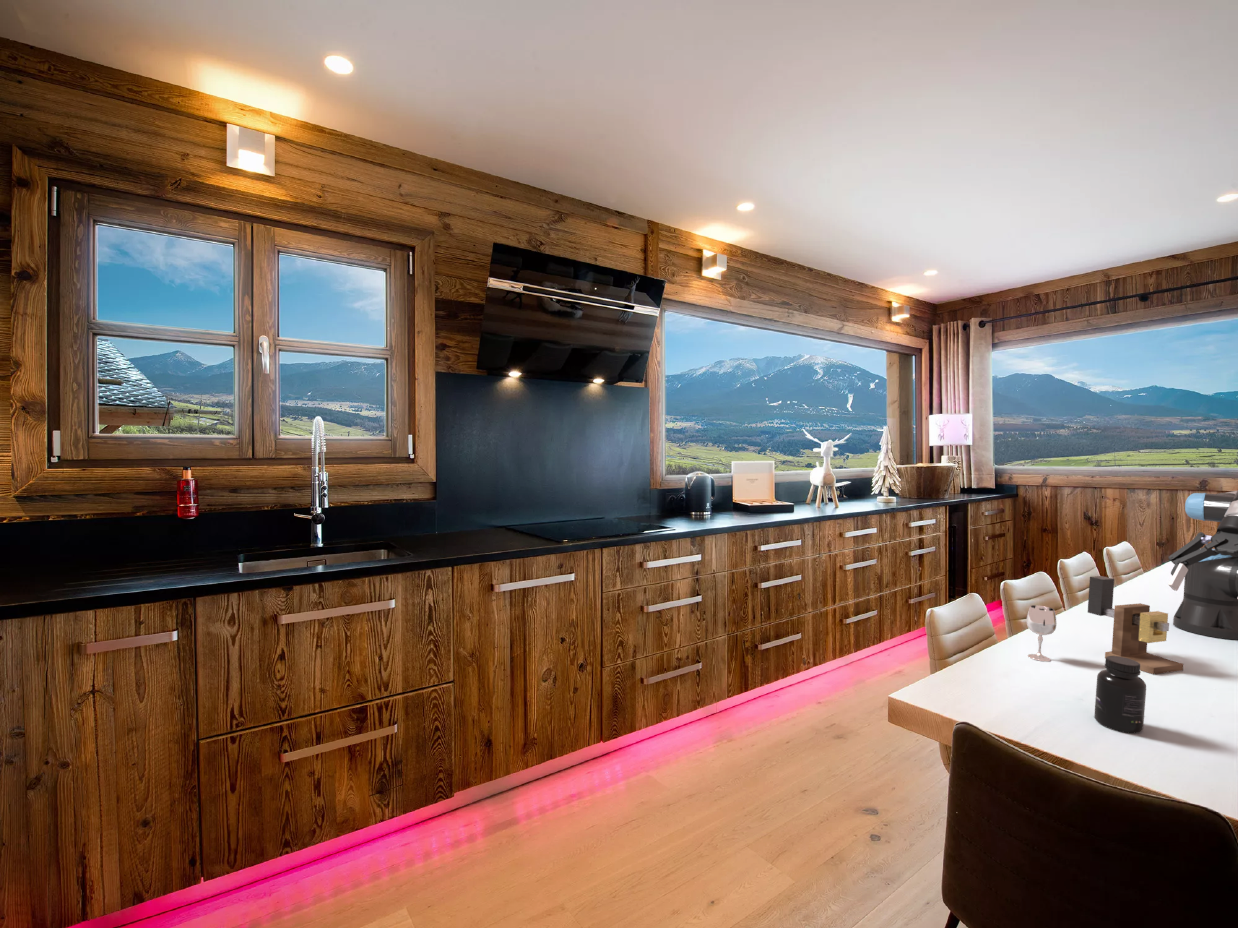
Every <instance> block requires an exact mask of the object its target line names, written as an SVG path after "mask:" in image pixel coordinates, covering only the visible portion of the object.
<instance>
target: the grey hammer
mask: <svg viewBox="0 0 1238 928" xmlns="http://www.w3.org/2000/svg"><path fill="white" fill-rule="evenodd" d="M1088 585H1089V586H1088V587H1089V588H1088V597H1087V598H1088V600H1087V601H1088V603H1087V613H1088V614H1092V615H1095V616H1100V617H1102V616H1103V617H1105V616H1106V617H1108V618H1113V619H1114V610H1115V608H1113V604H1114V588H1115V587H1114V586H1115V578H1112V577H1108V576H1102V575H1097V576H1094V575H1093V576H1089V583H1088ZM1132 623H1134V624H1138V625H1140V615H1136V614H1133V616H1132ZM1154 629H1156V630H1160V631H1163V632H1164V631H1167V632H1169V631H1170V630H1169V629H1170V623H1169V622H1168V623H1167V622H1163V621H1158V622H1154Z"/></svg>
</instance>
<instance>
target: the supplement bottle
mask: <svg viewBox="0 0 1238 928" xmlns="http://www.w3.org/2000/svg"><path fill="white" fill-rule="evenodd" d="M1104 668H1105V669H1103V670H1100V671H1099V672H1098V673H1097V675H1096V686H1095V687H1096V688H1095V698H1094V699H1095V702H1094V716H1093V717H1094V719H1095V721H1096V722H1097V723H1098V724H1100V725H1101V726H1103V727H1105V728H1107V729H1109V730H1110V729H1111V730H1113V731H1115V732H1120V733H1125V734H1139V733H1142V731H1143V730H1144V722H1145V710H1146V697H1147V684H1146V682H1145V681H1144V680H1143V679H1142V678H1141V677H1139V676H1140V675H1141V673H1142V672H1141V670H1140V663H1138V662H1137V661H1134V660H1132V659H1128V658H1124V657H1119V656H1107V657H1106V658H1105V663H1104Z"/></svg>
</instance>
